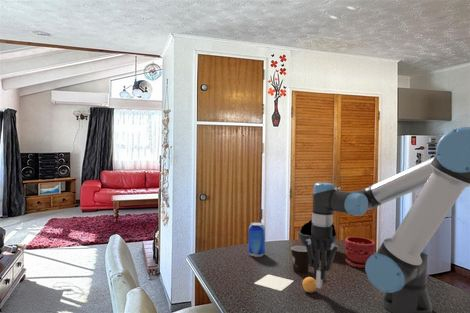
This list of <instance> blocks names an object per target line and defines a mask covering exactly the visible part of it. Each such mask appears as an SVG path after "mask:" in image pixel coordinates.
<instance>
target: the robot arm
mask: <svg viewBox="0 0 470 313" xmlns="http://www.w3.org/2000/svg"><path fill="white" fill-rule="evenodd" d="M435 154H436V155H435V156H433V157H431V158H428V159H426V160H424V161H422V162H419V163H417V164H415V165H413V166H411V167H409V168H407V169H403V170H402V171H400V172H398V173H397V174H394V175H391V176H389V177H387V178H385V179H383V180H381V181H379V182H376V183H374V184H372V185H369V186H368V187H365V188H363V189H359V190H358V189H357V190H352V191H344V190H338V189H336V188H335V187H336V186H335V184H333V183H331V182H316V183H314V185H313V193H312V213H311V214H312V215H311V218H312V219H311V220H312V223H313V224H312V228H311V236H310V239H307V240H305V241H304V244H305V245H306V248H307V254H308V260H309V267H311V268H313V270H314V272H313V278H314V279H315V280H316V288H317V289H322V287H323V280H325V279H326V272H328V271H330V270H331V269H332V265H333V263H334V260H335V255H336V253H337V251H338V250H339V248H340V246H339V245H338V244H337V245H336V243H333V239H332V226H331V225H332V224H333V225H334V221H333V219H334V212H338V213H341V214H347V215H351V216H359V217H360V216H363V215H364V214H366V213H367V211H369V210H373V209H376V208H378V206H381V205H383V204H386V203H389V202H391V201H393V200H396V199H398V198H400V197H403V196H406V195H409V194H411V193H413V192H416V191H418V190H420V192H419V193H418V195H417V197H416V198H415V200H414V202H413V203H412V204H411V206H410V207H409V209H408V211H407V213H406V214H405V216H404V217H403V220H402V221H401V223H400V224H399V225H398V228H397V229H396V230H395V231H394V234H393V236H392V237H388V238H385V239H384V240H383V242H382V243H381V245H380V246H379V248H378V250H376V252H375V253H374V254H373V255H371V256H370V257H369V258H368V260H367V261H366V265H365V268H364V270H365V273H366V275H367V276H366V277H367V279H368V281H370V283H371V284H372V286H374V287H375V288H376V289H378V290H379V291H381V292H383V295H382V303H381V304H382V307H383V308H385V309H386V310H387V311H389V312H390V313H433V305H432V301H431V299H430V295H429V293H428V288H427V285H428V283H427V282H428V256H429V254H428V247H427V245H428V243H429V242H430V241H431V239H432V237H433V236H434V234H435V233H436V231H437V230H438V229H439V227H440V226H441V224H442V223H443V221H444V220H445V219H446V217H447V215H448V213H449V212H450V211H451V209H452V208H453V206H454V205H455V204H456V202H457V200H458V199H459V197H460V196H461V195H462V193H463V191H464V190H465V189H466V188H468V187H470V126H462V127H457V128H454V129H452V130H449V131H447V132H446V133H445V134H443V135H442V136H441V138H440V139H439V140H438V142H437V144H436V149H435ZM311 242H312V244H313V246H314V251H315V252H314V251H313V250H312V245H311ZM330 246H331V248H329V247H330ZM328 248H329V249H331V251H330V253H329V257H328V258H327V256H328V255H327V254H328V250H329V249H328ZM327 249H328V250H327ZM320 250H321V252H320ZM320 258H321V259H320Z"/></svg>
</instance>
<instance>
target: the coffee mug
mask: <svg viewBox="0 0 470 313" xmlns="http://www.w3.org/2000/svg"><path fill="white" fill-rule="evenodd" d="M290 250H291V260H292V271H293V273H296V274H300V275H301V274H302V275H303V274H308V272H309V267H310V265H309V260H308V254H307V248H306V247H305V246H304V245H294V246H292V247H290Z"/></svg>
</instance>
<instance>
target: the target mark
mask: <svg viewBox="0 0 470 313" xmlns="http://www.w3.org/2000/svg"><path fill="white" fill-rule="evenodd" d="M294 282H295V281H294V280H292V279H288V278H284V277H281V276H276V275H274V274H273V275H272V274H270V273H269V274H267V275H265V276H263V277H261V278H260V279H258V280H256V281H255V282H254V283H253V284H254V285H257V286H260V287H264V288H268V289H271V290H275V291H279V292H282V291H284V290H285V289H286V288H287V287H289V286H290V285H292V284H293V283H294Z"/></svg>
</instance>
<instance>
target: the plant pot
mask: <svg viewBox="0 0 470 313" xmlns="http://www.w3.org/2000/svg"><path fill="white" fill-rule="evenodd" d="M344 243H345V245H344V248H345V249H344V250H345V254H346V258H345V262H346V263H347V264H348V265H349V266H352V267H354V268H361V269H365V265H366V261H367V260H368V258H369V257H370V256H371V255H373V254H375V247H376V244H375V241H374V240H372V239H369V238H366V237H363V236H362V237H361V236H360V237H359V236H348V237H346V238H345V242H344Z"/></svg>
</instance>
